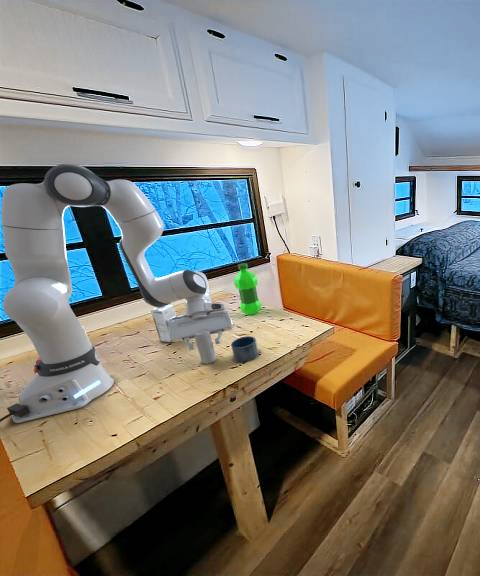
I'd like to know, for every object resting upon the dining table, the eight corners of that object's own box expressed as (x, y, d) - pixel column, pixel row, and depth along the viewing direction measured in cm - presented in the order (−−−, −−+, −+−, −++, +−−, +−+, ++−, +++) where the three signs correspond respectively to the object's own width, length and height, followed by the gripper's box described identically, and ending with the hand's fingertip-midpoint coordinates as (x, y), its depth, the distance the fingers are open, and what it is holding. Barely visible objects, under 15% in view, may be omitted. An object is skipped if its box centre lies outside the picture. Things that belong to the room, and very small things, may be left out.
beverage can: (210, 365, 110) (202, 336, 106) (198, 363, 111) (190, 335, 106) (219, 357, 114) (212, 329, 110) (208, 356, 115) (200, 328, 111)
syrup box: (171, 334, 132) (162, 304, 127) (183, 335, 131) (173, 305, 126) (160, 341, 127) (149, 309, 122) (171, 342, 126) (161, 310, 121)
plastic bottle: (266, 308, 156) (258, 261, 147) (255, 317, 146) (245, 267, 137) (249, 307, 157) (239, 261, 149) (236, 316, 148) (225, 267, 139)
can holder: (236, 364, 109) (233, 350, 107) (232, 354, 116) (229, 340, 114) (260, 357, 114) (258, 343, 112) (255, 347, 120) (252, 334, 118)
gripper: (164, 315, 107) (168, 351, 103) (228, 303, 116) (234, 336, 111) (170, 321, 113) (173, 356, 108) (230, 309, 121) (236, 342, 117)
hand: (205, 346), depth 110 cm, fingers open, 7 cm apart
